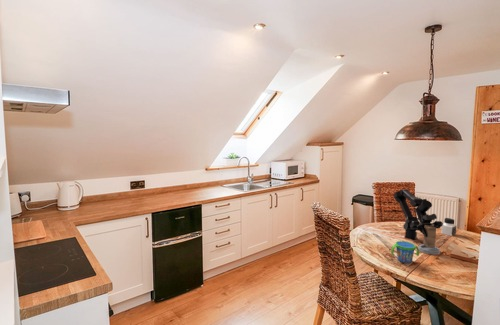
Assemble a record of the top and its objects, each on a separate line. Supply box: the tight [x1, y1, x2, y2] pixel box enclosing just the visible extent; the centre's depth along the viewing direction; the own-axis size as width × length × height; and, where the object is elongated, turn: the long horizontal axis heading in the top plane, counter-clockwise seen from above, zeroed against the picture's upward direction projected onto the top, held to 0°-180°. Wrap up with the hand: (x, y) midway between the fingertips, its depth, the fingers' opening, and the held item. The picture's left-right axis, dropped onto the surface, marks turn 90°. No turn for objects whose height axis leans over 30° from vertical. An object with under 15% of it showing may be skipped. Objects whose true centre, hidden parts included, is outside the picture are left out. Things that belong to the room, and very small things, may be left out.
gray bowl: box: [417, 243, 441, 256], centre depth 179 cm, size 12×12×2 cm
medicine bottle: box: [440, 217, 457, 237], centre depth 208 cm, size 7×7×12 cm
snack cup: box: [390, 240, 420, 264], centre depth 165 cm, size 16×10×10 cm
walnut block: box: [423, 225, 437, 247], centre depth 178 cm, size 5×5×13 cm
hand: (430, 236), depth 177 cm, fingers closed on walnut block, 5 cm apart
